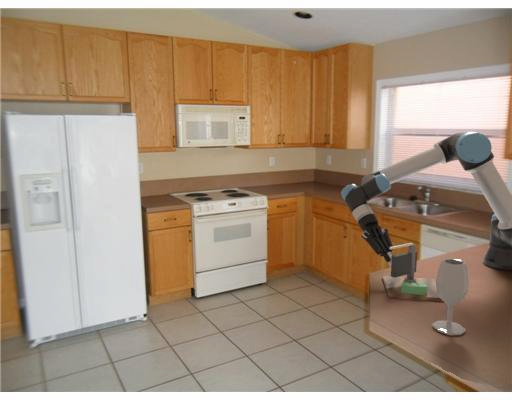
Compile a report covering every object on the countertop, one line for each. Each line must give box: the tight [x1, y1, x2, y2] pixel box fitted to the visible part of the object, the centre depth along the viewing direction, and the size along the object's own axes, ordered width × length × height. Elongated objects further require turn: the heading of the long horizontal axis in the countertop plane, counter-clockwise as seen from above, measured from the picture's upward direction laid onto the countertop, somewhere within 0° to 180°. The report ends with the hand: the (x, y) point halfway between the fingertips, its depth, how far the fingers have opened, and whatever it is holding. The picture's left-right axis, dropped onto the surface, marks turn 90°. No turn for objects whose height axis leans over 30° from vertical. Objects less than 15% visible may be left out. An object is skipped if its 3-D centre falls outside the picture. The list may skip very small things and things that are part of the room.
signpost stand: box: [389, 242, 418, 283], centre depth 154 cm, size 14×4×15 cm, turn 121°
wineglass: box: [431, 258, 470, 337], centre depth 120 cm, size 9×9×21 cm
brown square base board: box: [382, 275, 443, 302], centre depth 153 cm, size 19×20×1 cm
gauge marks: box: [385, 281, 428, 295], centre depth 149 cm, size 14×5×3 cm, turn 61°
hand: (395, 268), depth 156 cm, fingers closed
